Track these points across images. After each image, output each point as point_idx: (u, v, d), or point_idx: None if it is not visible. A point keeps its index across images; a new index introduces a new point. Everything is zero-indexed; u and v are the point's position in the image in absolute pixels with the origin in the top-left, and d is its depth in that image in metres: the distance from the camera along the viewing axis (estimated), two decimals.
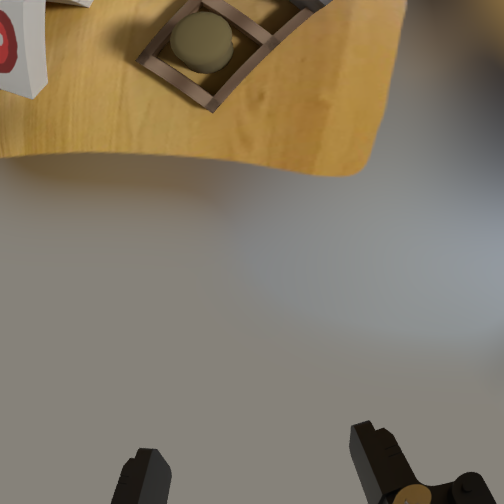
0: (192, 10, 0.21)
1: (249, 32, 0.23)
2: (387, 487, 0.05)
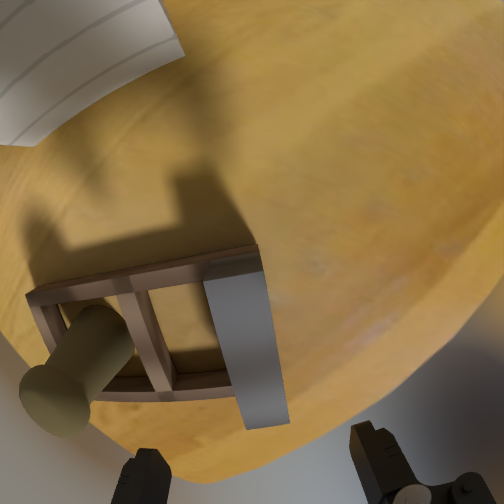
0: None
1: (148, 372, 0.19)
2: (387, 487, 0.05)
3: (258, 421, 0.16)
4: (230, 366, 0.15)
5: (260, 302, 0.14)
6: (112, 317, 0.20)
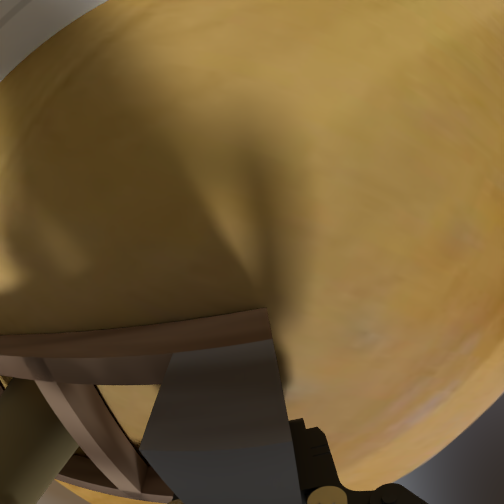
0: None
1: (104, 472, 0.10)
2: (305, 484, 0.06)
3: None
4: None
5: (278, 481, 0.04)
6: None
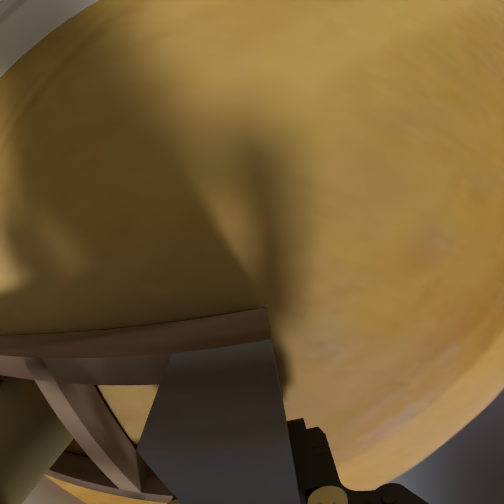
0: None
1: (104, 471, 0.10)
2: (306, 484, 0.06)
3: None
4: None
5: (276, 482, 0.04)
6: (37, 393, 0.11)
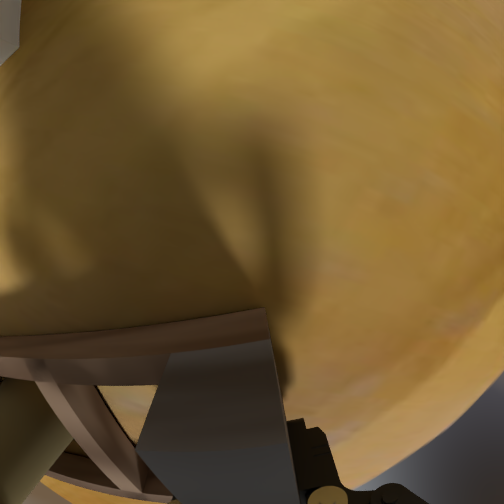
0: None
1: (105, 472, 0.10)
2: (306, 484, 0.06)
3: None
4: None
5: (275, 482, 0.04)
6: (36, 392, 0.11)
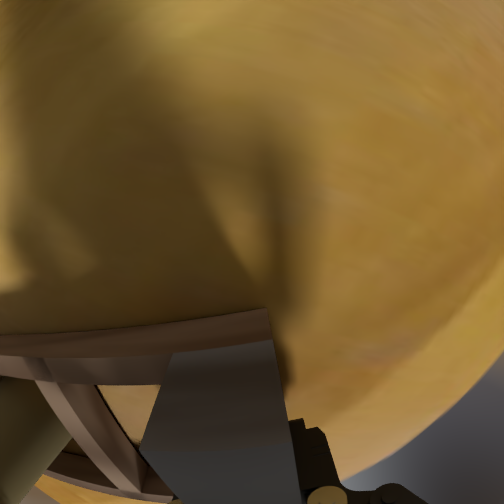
0: None
1: (104, 472, 0.10)
2: (305, 484, 0.06)
3: None
4: None
5: (278, 481, 0.04)
6: (34, 390, 0.10)
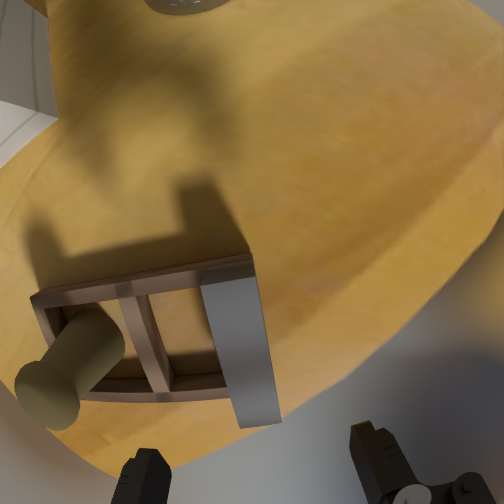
0: None
1: (146, 373, 0.20)
2: (387, 487, 0.05)
3: (251, 420, 0.17)
4: (224, 366, 0.16)
5: (252, 305, 0.15)
6: (102, 319, 0.21)
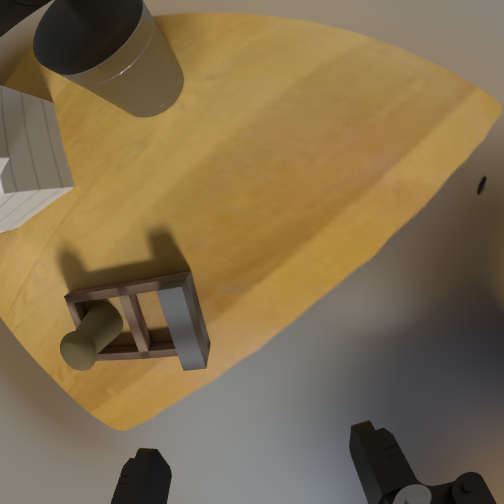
0: None
1: (135, 339, 0.36)
2: (387, 487, 0.05)
3: (189, 365, 0.33)
4: (171, 331, 0.31)
5: (181, 300, 0.31)
6: (109, 308, 0.36)
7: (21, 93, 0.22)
